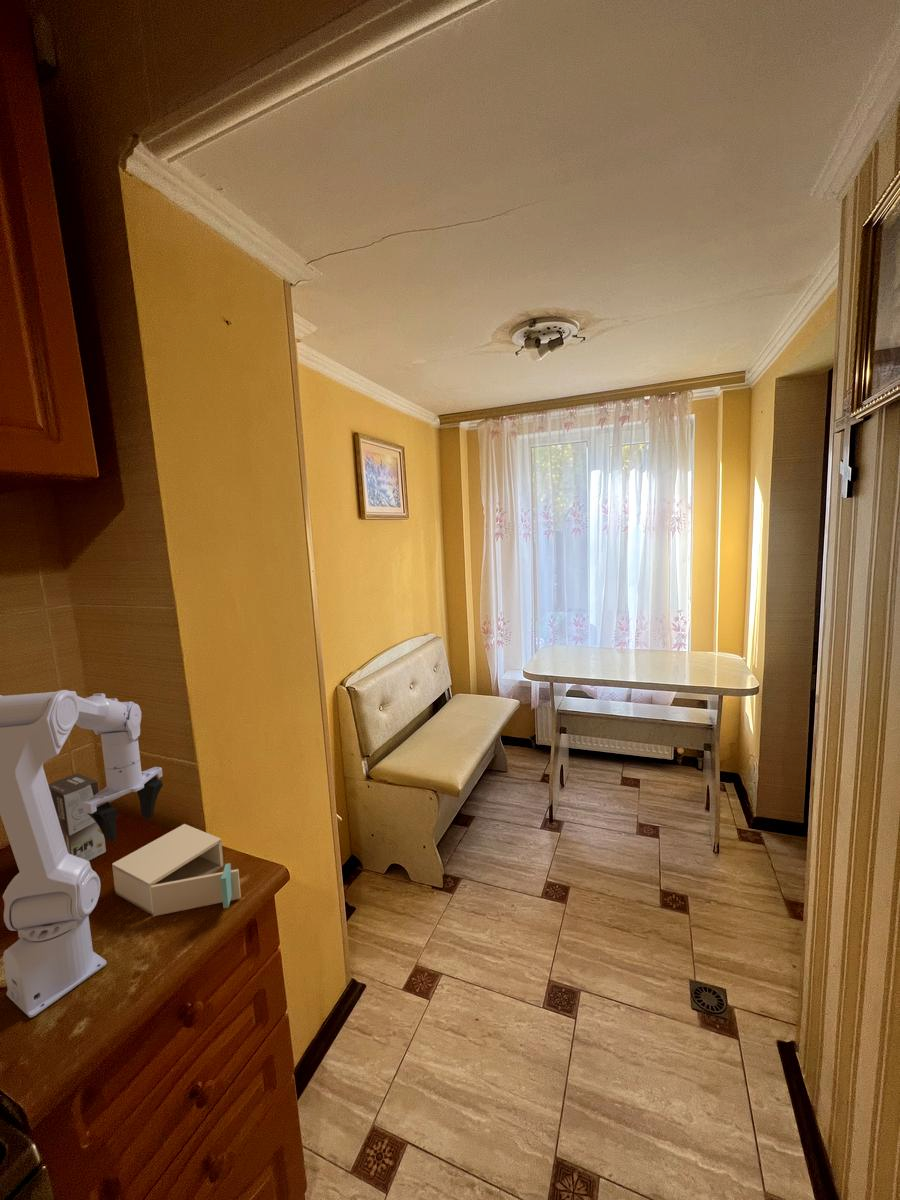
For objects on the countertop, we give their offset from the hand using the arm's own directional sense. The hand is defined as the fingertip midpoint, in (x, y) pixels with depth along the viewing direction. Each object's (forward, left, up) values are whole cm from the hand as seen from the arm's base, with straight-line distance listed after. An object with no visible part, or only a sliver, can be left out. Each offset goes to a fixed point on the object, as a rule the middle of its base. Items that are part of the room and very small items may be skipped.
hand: (129, 827), depth 92 cm
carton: (+2, -9, -10) cm, 13 cm away
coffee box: (-2, +17, -10) cm, 20 cm away
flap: (-2, -22, -9) cm, 24 cm away
